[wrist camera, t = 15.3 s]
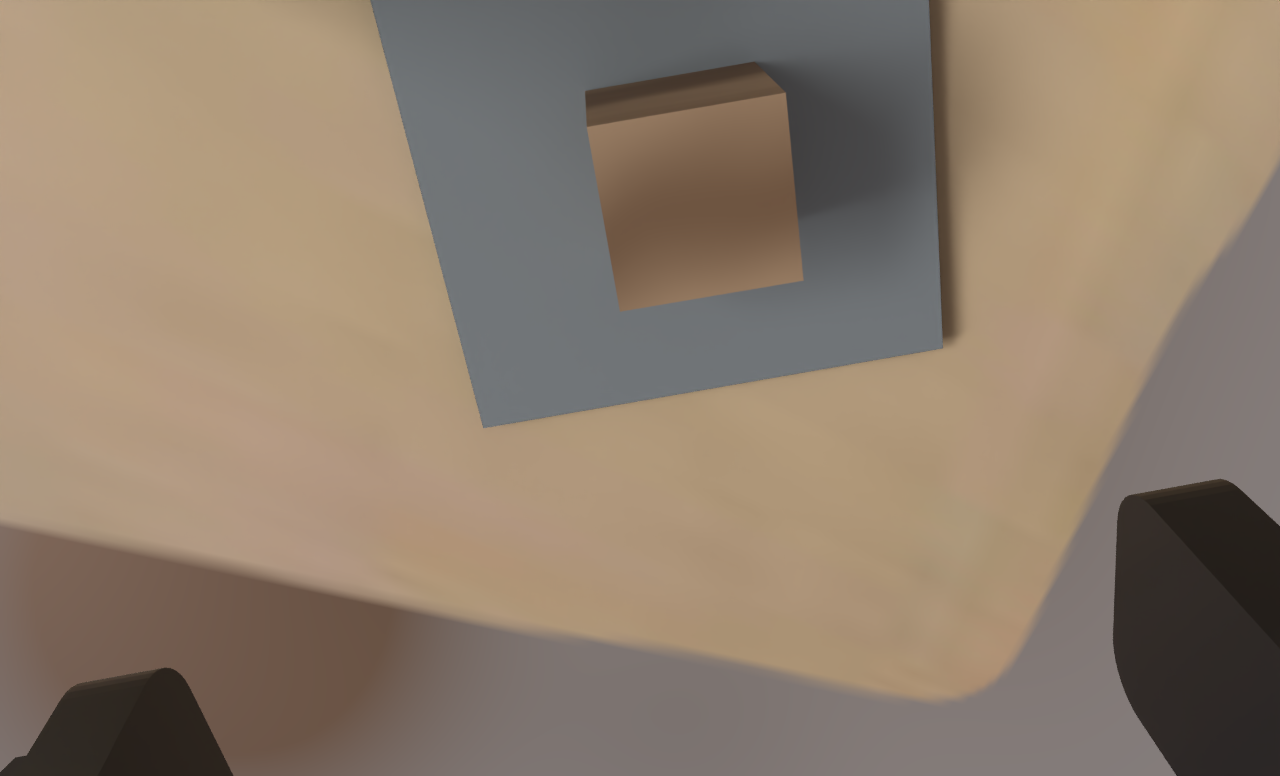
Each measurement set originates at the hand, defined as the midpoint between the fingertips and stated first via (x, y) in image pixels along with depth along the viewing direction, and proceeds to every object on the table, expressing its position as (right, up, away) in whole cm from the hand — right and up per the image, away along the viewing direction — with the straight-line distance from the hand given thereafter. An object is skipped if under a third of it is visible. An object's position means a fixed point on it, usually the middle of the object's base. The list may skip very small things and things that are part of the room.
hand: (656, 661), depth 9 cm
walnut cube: (+1, +9, +19) cm, 21 cm away
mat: (+1, +9, +20) cm, 22 cm away
